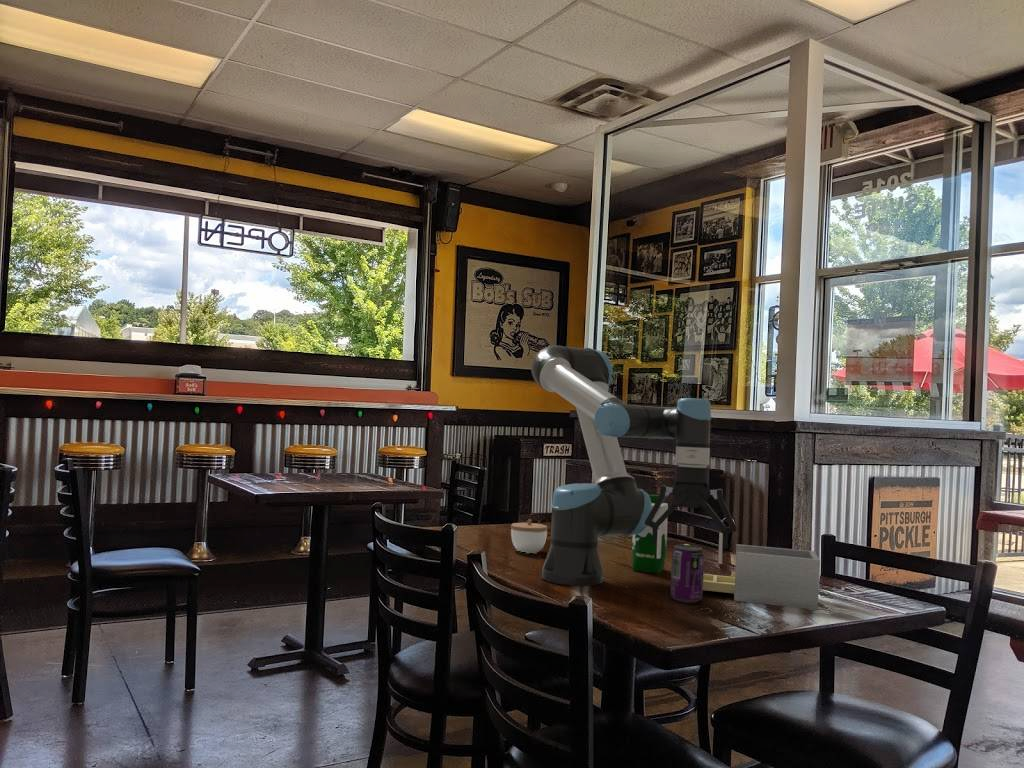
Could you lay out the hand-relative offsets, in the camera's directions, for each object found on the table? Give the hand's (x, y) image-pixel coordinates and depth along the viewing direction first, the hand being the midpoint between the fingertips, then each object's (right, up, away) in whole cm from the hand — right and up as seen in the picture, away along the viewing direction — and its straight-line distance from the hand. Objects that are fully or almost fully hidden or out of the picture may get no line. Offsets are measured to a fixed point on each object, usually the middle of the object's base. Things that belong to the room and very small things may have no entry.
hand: (689, 560), depth 183 cm
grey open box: (+21, -10, +6) cm, 25 cm away
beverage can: (-1, -9, 0) cm, 9 cm away
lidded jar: (-35, -10, +54) cm, 66 cm away
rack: (+9, -10, +10) cm, 17 cm away
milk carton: (-3, -10, +35) cm, 37 cm away
